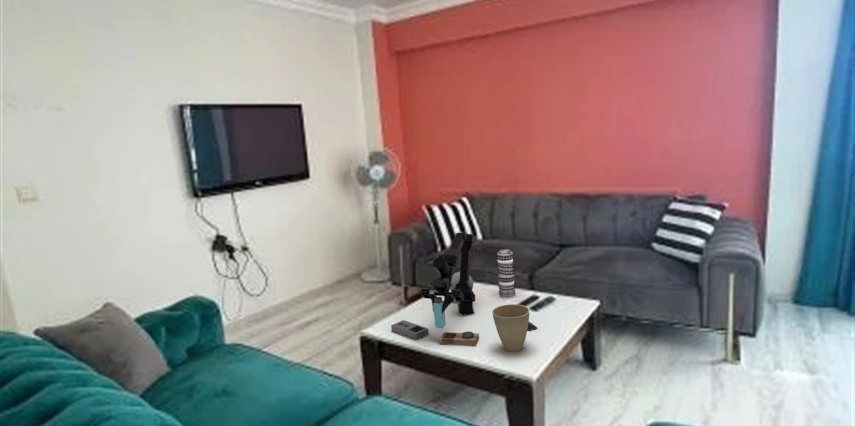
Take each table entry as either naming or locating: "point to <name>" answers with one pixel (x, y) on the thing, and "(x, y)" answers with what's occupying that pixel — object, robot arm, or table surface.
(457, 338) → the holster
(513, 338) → the plant pot
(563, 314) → the table surface
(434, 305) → the plug
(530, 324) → the phone
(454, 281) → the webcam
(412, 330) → the port block
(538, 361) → the table surface
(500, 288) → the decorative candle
